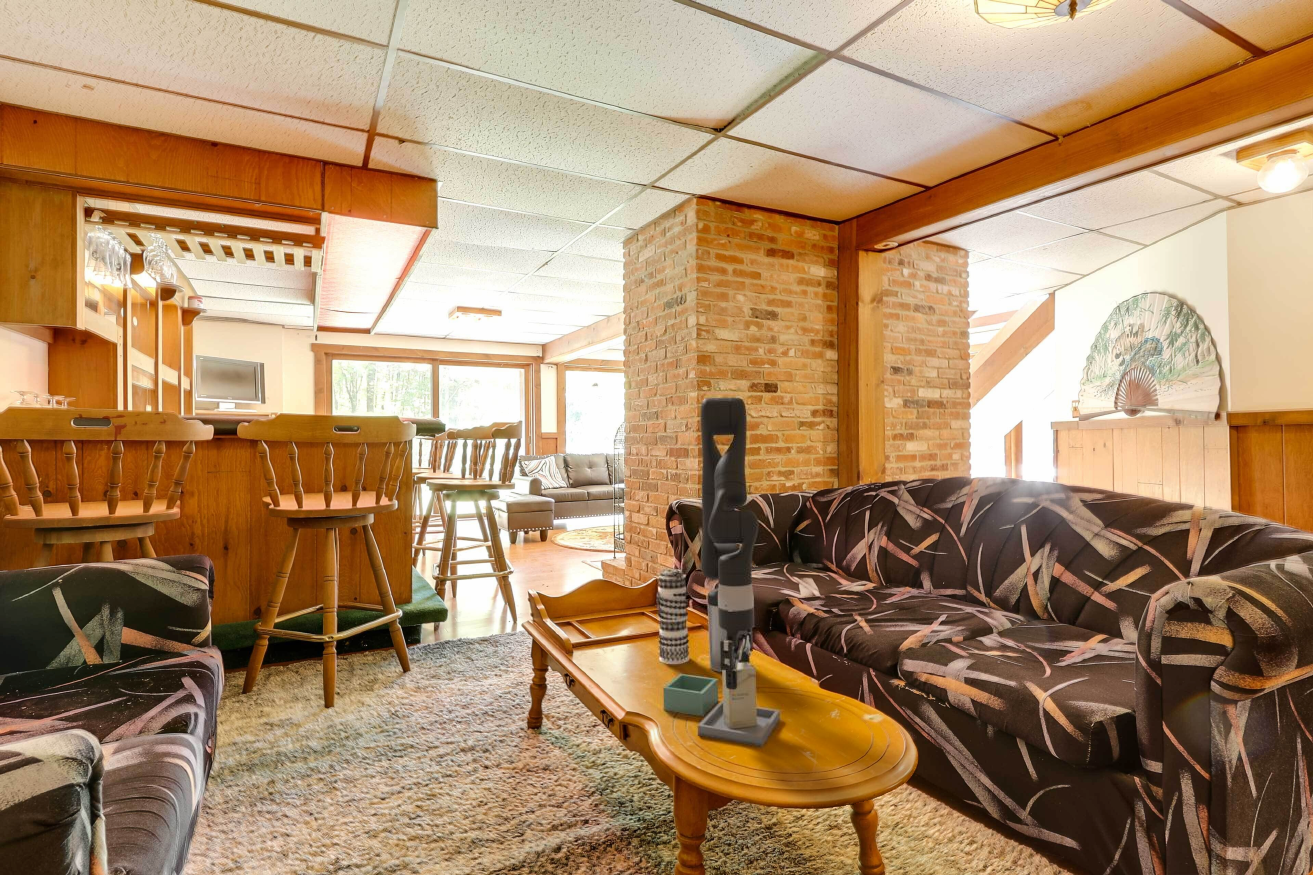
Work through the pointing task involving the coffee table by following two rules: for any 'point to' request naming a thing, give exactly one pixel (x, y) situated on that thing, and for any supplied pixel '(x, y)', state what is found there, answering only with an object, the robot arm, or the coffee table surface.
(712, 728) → the tray
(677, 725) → the coffee table surface
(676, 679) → the teal square open box
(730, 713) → the skincare box
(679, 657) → the decorative candle
